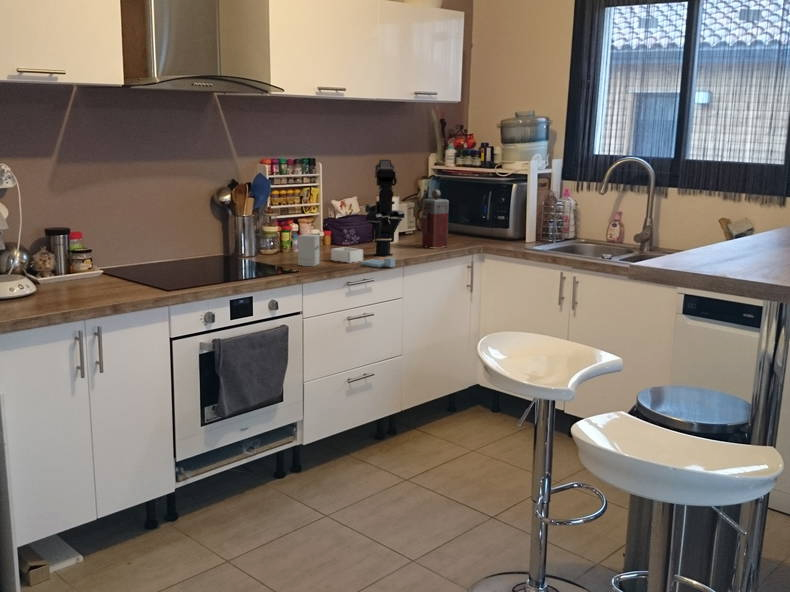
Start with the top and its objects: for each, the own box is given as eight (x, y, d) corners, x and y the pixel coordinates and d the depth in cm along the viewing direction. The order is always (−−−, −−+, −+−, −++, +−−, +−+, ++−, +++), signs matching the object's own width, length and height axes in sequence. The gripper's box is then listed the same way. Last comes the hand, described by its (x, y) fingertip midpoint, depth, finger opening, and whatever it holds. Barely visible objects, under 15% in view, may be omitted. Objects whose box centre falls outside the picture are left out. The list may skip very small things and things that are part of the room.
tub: (330, 260, 347) (330, 249, 346) (344, 258, 354) (344, 246, 353) (349, 263, 340) (349, 251, 339) (363, 260, 347) (363, 249, 346)
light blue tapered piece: (359, 265, 337) (359, 255, 336) (373, 263, 343) (373, 253, 343) (385, 270, 328) (385, 260, 327) (399, 267, 334) (399, 257, 333)
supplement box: (314, 266, 331) (314, 236, 329) (297, 265, 333) (297, 235, 330) (319, 263, 338) (319, 234, 336) (303, 263, 340) (302, 233, 337)
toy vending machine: (418, 247, 391) (419, 189, 385) (436, 245, 397) (437, 188, 391) (429, 249, 384) (431, 190, 378) (447, 247, 390) (449, 190, 384)
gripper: (385, 195, 341) (384, 232, 345) (355, 198, 327) (355, 236, 330) (405, 197, 334) (404, 234, 338) (376, 201, 320) (375, 239, 324)
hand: (385, 236), depth 333 cm, fingers open, 9 cm apart
